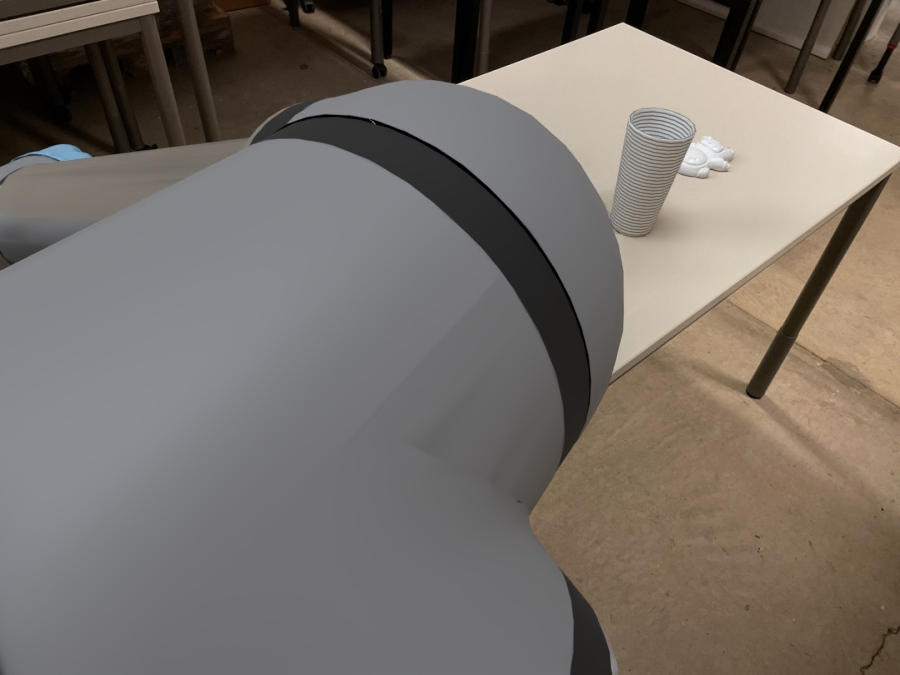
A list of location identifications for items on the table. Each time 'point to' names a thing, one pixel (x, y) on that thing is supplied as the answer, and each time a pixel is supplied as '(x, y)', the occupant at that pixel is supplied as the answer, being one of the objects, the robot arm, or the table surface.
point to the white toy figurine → (706, 158)
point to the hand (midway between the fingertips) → (352, 282)
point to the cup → (648, 167)
